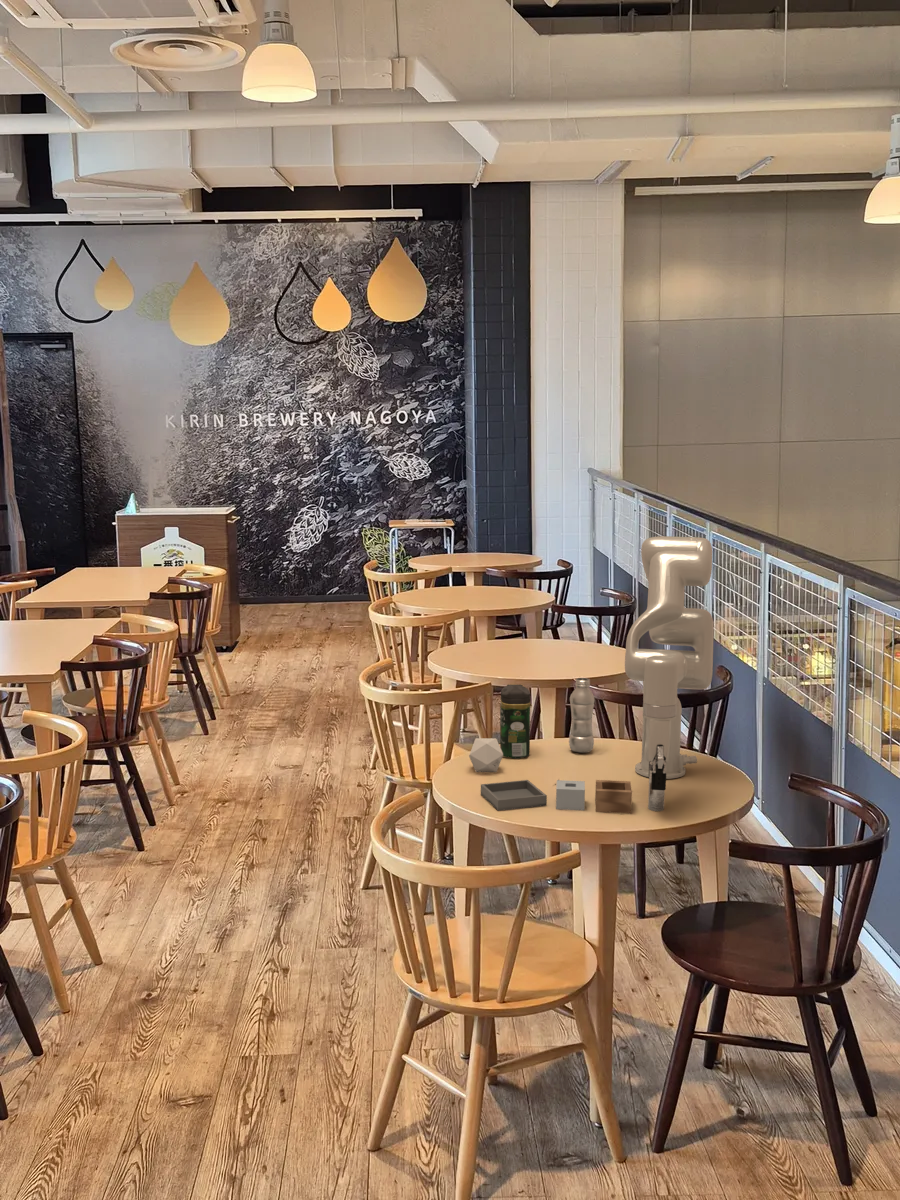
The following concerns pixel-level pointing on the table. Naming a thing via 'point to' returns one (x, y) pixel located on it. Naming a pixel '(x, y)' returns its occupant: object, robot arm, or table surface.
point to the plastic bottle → (581, 717)
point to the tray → (513, 795)
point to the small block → (570, 795)
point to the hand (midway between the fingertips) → (656, 783)
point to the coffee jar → (515, 721)
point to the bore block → (613, 796)
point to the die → (486, 755)
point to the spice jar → (655, 794)
